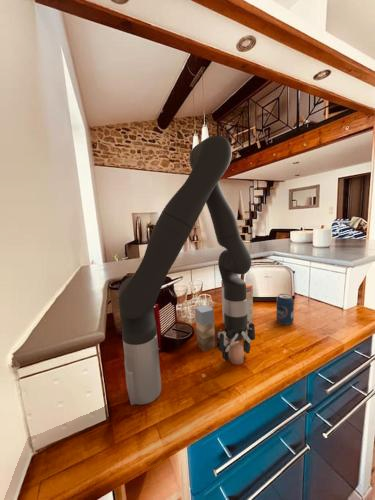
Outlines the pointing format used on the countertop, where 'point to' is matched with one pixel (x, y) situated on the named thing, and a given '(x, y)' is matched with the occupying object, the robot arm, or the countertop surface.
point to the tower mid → (205, 330)
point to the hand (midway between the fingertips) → (236, 356)
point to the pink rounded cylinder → (236, 353)
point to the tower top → (204, 315)
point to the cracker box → (249, 302)
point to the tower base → (206, 342)
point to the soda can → (285, 308)
